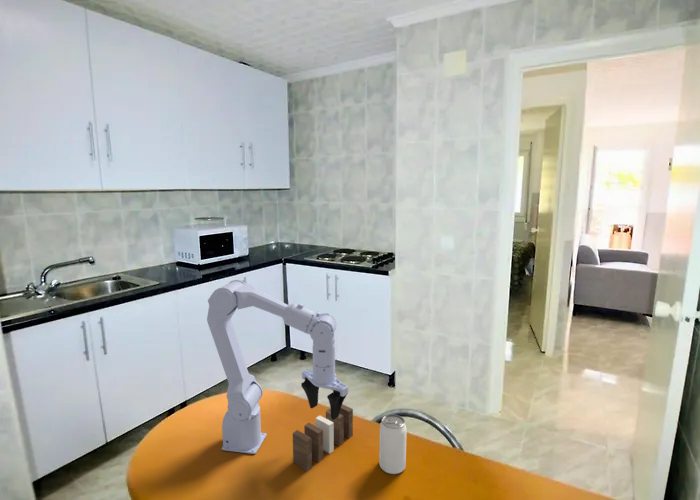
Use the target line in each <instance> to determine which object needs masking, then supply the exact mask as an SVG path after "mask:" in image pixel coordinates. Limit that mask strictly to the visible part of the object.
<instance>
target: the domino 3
mask: <svg viewBox="0 0 700 500" xmlns="http://www.w3.org/2000/svg"><path fill="white" fill-rule="evenodd" d="M315 426H316V427H318V428H320V429H322V430H323V452H326V453H327V454H329V455H330V454H331V453H333V452H334V450H335V449H334V448H335V445H334V444H335V443H334V422H332V421H330V420H328V419H326V417H323V416H322V415H321V414H320V415H318V416H317V417H315Z"/></svg>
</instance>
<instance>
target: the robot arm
mask: <svg viewBox="0 0 700 500" xmlns="http://www.w3.org/2000/svg"><path fill="white" fill-rule="evenodd" d="M207 303H208V311H207V315H206V316H207V317H206V321H207V324H208V327H209V331H210V333H211V336H212V339H213V342H214V344H215V345H214V346H215V348H216V351H217V353H218V356H219V359H220V362H221V365H222V368H223V371H224V373H225V374H224V375H225V376H226V379H227V382H228V387H227V391H226V399H227V411H226V412H225V414H224V416H223V419H222V424H221V431H222V447H221V450H222V451H227V452H237V453H243V454H252V455H255V454H257V452H258V451H259V449H260V447H261V445H262V444H263V442H264V440H265V439H266V437H267V435H268V434H267V433H266V432H262V424H261V407H260V405H259V404H260V402H259V401H260V400H261V399H262V397H263V393H264V392H263V391H264V390H263V388H262V386H261V384H259V382H258V381H257V380H256V377H255V375H253V374H251V373H249V370H248V368H247V364H246V361H245V359H244V355H243V353H242V349H241V346H240V343H239V341H238V340H239V339H238V338H237V335H236V332H235V330H234V325H233V323H232V320H231V319H232V317H233V315H234V314H235V312H236V311H237V310H242V309H246V308H249V307H250V308H251V307H254V308H256V309H257V308H258V309H259V310H262V311H265V312H268V313H269V314H272V315H275V316H278V317H280V318H282V320H283V322H284V324H285V325H286V326H289V327H291V328H293V329H296V330H298V331H300V332H303V333H304V334H307V335H310V336H309V337H310V338H311V340H312V370H311V369H305V370H302V371H301V379H302V380H304V381H303V382H301V386H300V387H302V389H303V390H304V393H305V395H306V399H307V401H308V404H309V408H310V409H313V408H315V407H318V403H319V392H320V391H319V390H320V388H322V389H326V390H330V391H332V392H331V393H330V394H328V395H327V397H326V398H327V400H328V402H329V409H331V418H332V419H333V420H334V419H336V418H337V417H339V413H340V409H341V406H342V404H343V403H344V401H345V399H346V397H347V395H348V394H349V386H348V385H345V384H344V383H343V382H342V381H341V380H340V379H338V378H337V377H338V376H337V373H336V344H335V341H336V340H335V332H336V329H337V321H336V319H335V318H334V317H333V315H330V314H329V313H328V312H327V313H326V312H325V313H322V312H320V311H317V312H315V311H313V310H311V309H309V308H307V307H305V304H304V303H301V302H298V303H296V302H294V303H292V304H287V303H285V302H283V301H281V300H279V299H277V298H275V297H273V296H271V295H269V294H268V293H265V292H263V291H261V290H260V289H258V288H256V287H255V286H253V285H252V284H251V283H245V282H244V281H242V280H239V279H234V280H233V279H232V280H231V281H230V282H228V283H227V284H225V285H223V286H221V287H218V288H217V289H215V290H214V291H213V292H212V293H211V295H210V297H209V298H208V299H207Z"/></svg>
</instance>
